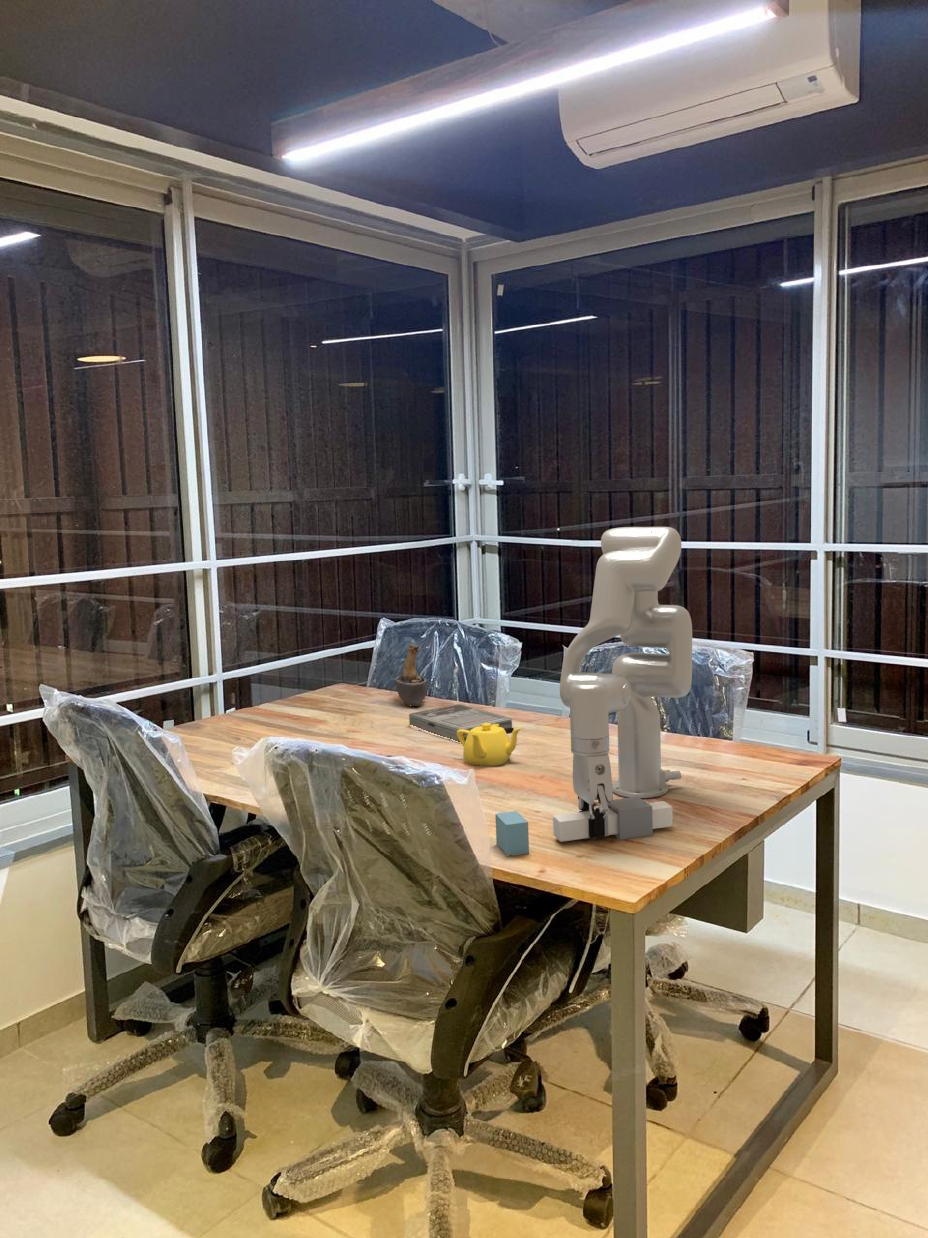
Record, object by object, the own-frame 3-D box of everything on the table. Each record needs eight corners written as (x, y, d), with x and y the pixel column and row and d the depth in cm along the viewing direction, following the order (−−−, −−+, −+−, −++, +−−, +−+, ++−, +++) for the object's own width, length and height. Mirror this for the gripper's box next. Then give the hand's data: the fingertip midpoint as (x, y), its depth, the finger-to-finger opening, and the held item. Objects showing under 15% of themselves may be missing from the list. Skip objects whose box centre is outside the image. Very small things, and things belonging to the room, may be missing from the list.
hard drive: (461, 745, 275) (460, 729, 274) (408, 728, 297) (407, 714, 296) (513, 733, 285) (513, 718, 285) (458, 718, 307) (458, 704, 307)
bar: (663, 820, 205) (663, 800, 205) (672, 826, 201) (672, 806, 201) (553, 835, 199) (552, 815, 199) (560, 842, 195) (560, 821, 195)
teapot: (473, 772, 248) (472, 733, 247) (454, 759, 260) (452, 721, 259) (524, 764, 253) (522, 726, 252) (502, 751, 265) (501, 715, 264)
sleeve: (638, 824, 205) (637, 796, 205) (652, 835, 199) (652, 806, 198) (606, 829, 204) (606, 800, 203) (620, 839, 197) (619, 810, 197)
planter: (419, 711, 316) (416, 649, 313) (377, 707, 325) (374, 646, 322) (446, 702, 328) (443, 641, 326) (405, 697, 337) (402, 639, 335)
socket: (517, 841, 199) (516, 811, 198) (529, 853, 192) (528, 822, 191) (496, 844, 198) (495, 813, 197) (507, 856, 191) (506, 825, 190)
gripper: (625, 752, 190) (627, 845, 192) (591, 732, 206) (593, 818, 208) (588, 756, 188) (590, 850, 190) (557, 736, 204) (559, 822, 206)
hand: (592, 832), depth 199 cm, fingers closed on bar, 4 cm apart
